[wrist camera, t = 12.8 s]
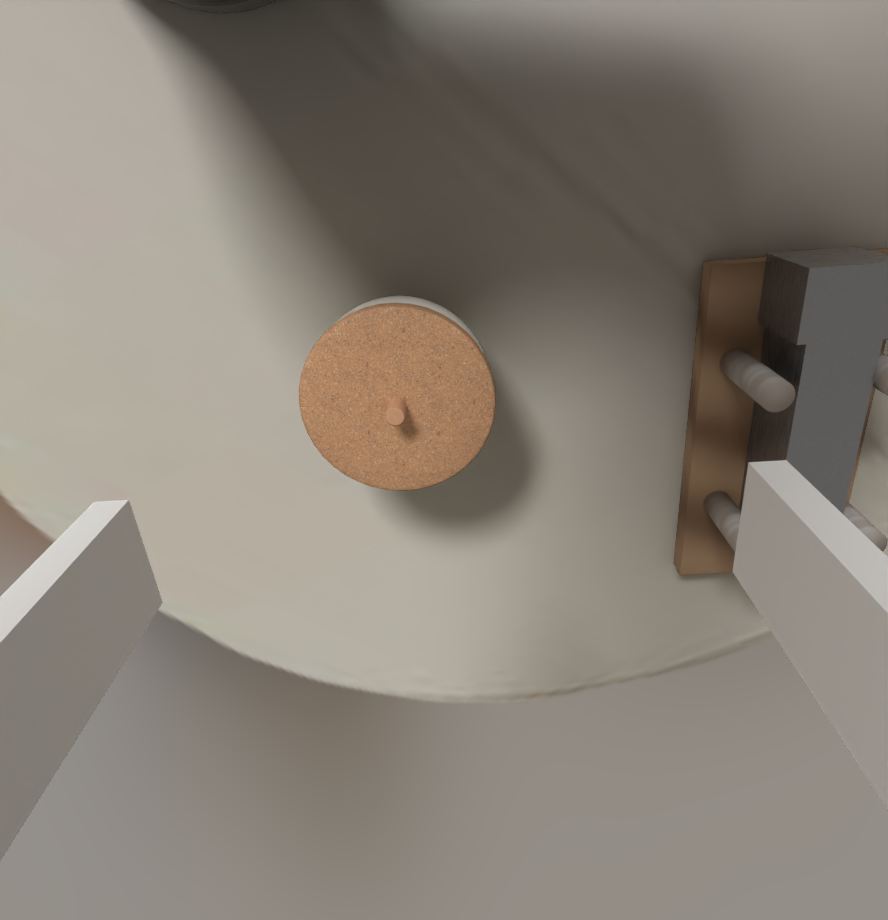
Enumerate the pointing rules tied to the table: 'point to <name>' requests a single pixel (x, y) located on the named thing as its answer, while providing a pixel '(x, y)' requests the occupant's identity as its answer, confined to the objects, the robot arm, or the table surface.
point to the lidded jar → (398, 394)
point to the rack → (733, 415)
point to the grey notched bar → (820, 360)
